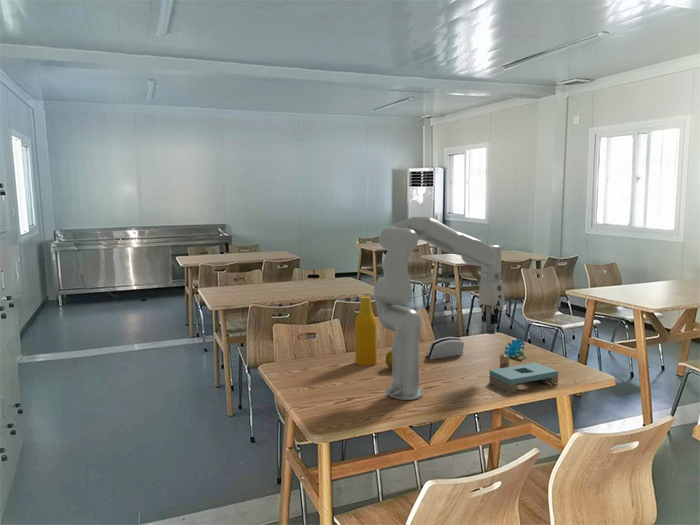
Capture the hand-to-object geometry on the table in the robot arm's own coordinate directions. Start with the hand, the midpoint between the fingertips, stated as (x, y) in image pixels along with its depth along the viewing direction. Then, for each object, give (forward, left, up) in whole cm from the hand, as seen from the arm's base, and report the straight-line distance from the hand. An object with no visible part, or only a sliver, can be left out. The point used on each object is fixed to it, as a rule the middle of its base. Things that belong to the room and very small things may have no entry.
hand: (490, 322), depth 214 cm
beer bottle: (-19, +48, -21) cm, 56 cm away
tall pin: (0, 0, -4) cm, 4 cm away
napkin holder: (+11, +27, -22) cm, 37 cm away
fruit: (-17, +33, -21) cm, 43 cm away
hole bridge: (-2, -15, -21) cm, 26 cm away
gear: (+30, +3, -22) cm, 37 cm away
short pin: (+9, -2, -21) cm, 23 cm away
